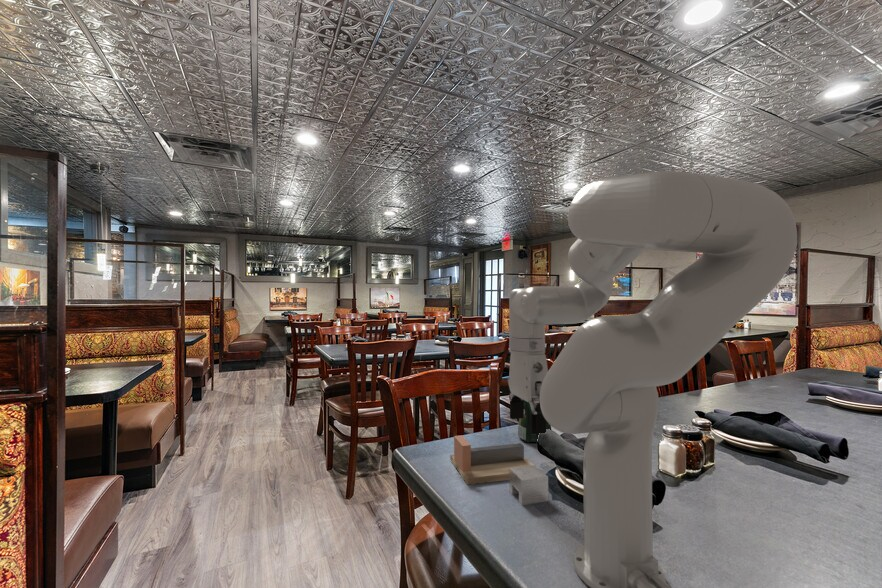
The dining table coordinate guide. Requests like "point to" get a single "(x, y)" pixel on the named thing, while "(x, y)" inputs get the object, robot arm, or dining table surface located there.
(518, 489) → the saddle block
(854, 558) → the dining table surface
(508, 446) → the rail
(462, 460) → the stop
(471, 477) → the board
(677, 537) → the dining table surface
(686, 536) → the dining table surface
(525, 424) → the coffee jar
